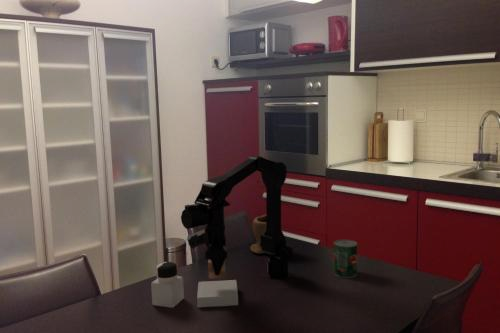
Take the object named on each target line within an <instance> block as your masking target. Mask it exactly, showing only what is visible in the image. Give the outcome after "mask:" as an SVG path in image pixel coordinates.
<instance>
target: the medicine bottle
mask: <svg viewBox="0 0 500 333" xmlns="http://www.w3.org/2000/svg"><path fill="white" fill-rule="evenodd" d="M155 270H156V279H155V280H153V281H152V282H151V283H150V284H151V285H150V287H151V303H152V306H155V307H156V306H157V307H162V308H163V307H164V308H170V309H173V308H175V306H177V305H178V304H180V302H182V300H184V299H185V292H184V276H180V275H178V265H177V263H175V262H171V261H164V262H161V263H158V264H157V265H156V269H155Z"/></svg>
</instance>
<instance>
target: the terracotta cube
mask: <svg viewBox="0 0 500 333" xmlns="http://www.w3.org/2000/svg"><path fill="white" fill-rule="evenodd" d="M207 265H208V266H207V267H208V279H209V280H210V279H226V278H227V276H226V260H225V261H224V263H223V266H222V268H221V271H220V274H219V275H215V272H214V268H213V265H212V261H211V260H208V261H207Z"/></svg>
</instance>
